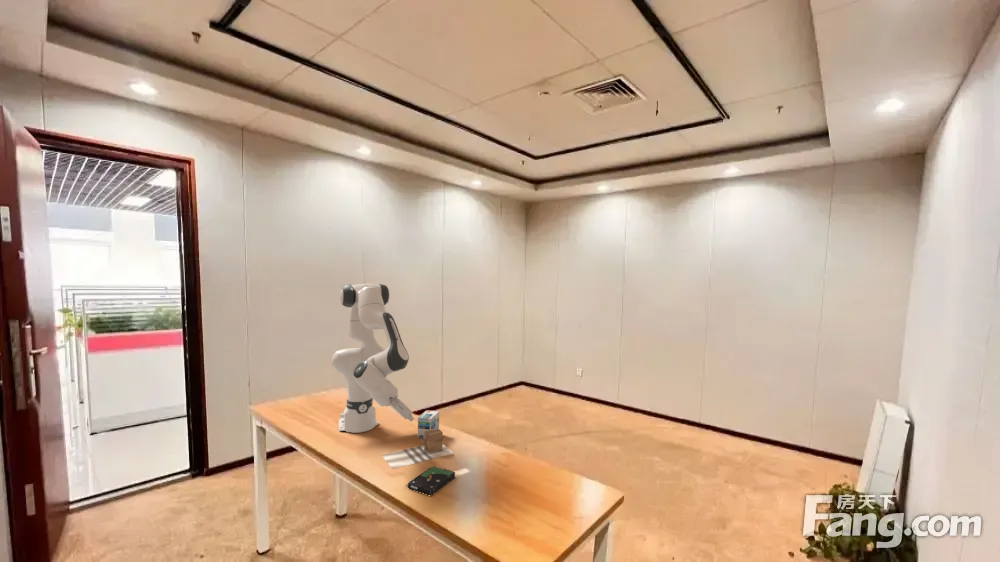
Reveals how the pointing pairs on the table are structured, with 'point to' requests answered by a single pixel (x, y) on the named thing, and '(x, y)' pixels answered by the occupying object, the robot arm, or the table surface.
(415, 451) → the board
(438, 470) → the disk drive
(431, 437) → the block
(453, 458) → the table surface
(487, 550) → the table surface
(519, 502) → the table surface
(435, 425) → the light bulb box
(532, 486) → the table surface
